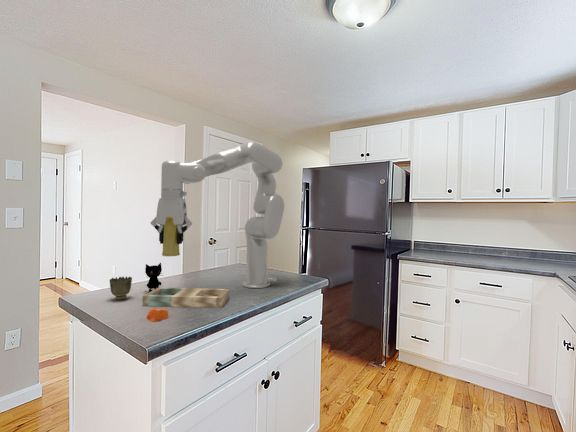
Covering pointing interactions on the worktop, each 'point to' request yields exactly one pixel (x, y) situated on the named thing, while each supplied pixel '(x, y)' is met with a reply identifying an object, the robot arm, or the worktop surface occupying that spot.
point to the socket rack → (186, 297)
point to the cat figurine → (153, 276)
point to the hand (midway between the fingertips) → (171, 243)
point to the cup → (120, 287)
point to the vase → (170, 238)
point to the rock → (157, 314)
